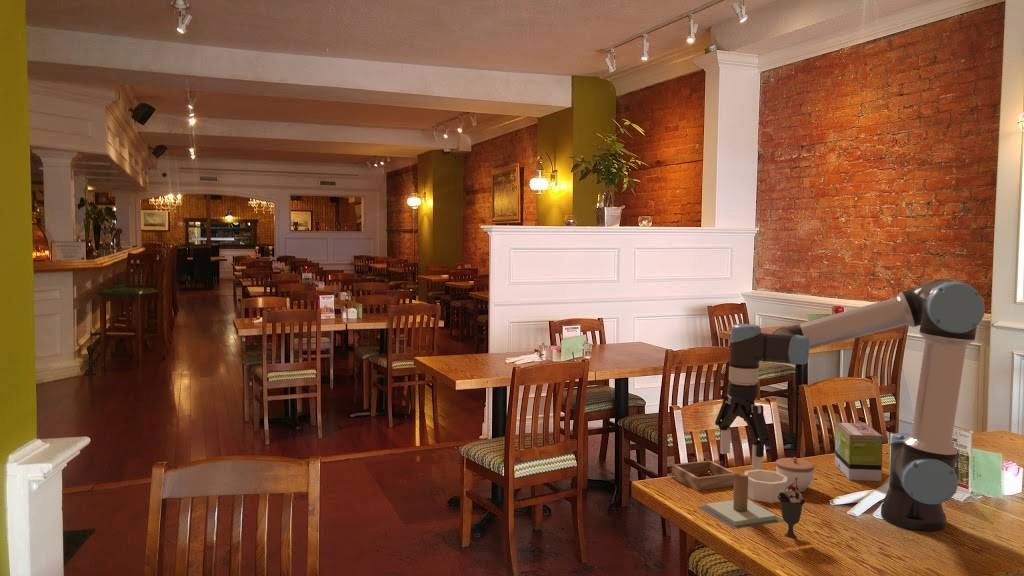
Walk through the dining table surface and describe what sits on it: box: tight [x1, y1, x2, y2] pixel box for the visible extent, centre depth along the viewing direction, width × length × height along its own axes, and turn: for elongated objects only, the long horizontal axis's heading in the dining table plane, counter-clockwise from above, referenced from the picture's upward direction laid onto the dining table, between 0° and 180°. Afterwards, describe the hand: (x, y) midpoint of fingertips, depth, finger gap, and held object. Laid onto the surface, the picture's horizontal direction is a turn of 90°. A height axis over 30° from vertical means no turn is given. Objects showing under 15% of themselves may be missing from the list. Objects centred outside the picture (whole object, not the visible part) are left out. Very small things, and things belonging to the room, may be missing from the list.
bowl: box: [743, 469, 788, 504], centre depth 208 cm, size 12×12×6 cm
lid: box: [705, 473, 777, 526], centre depth 193 cm, size 13×13×10 cm
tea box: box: [834, 422, 884, 482], centre depth 229 cm, size 15×10×15 cm, turn 172°
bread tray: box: [671, 460, 738, 491], centre depth 220 cm, size 14×14×4 cm
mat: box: [697, 505, 785, 530], centre depth 193 cm, size 16×16×1 cm
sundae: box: [778, 478, 807, 539], centre depth 179 cm, size 7×7×15 cm
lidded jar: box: [775, 456, 815, 493], centre depth 215 cm, size 11×11×9 cm
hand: (740, 460), depth 192 cm, fingers open, 13 cm apart
